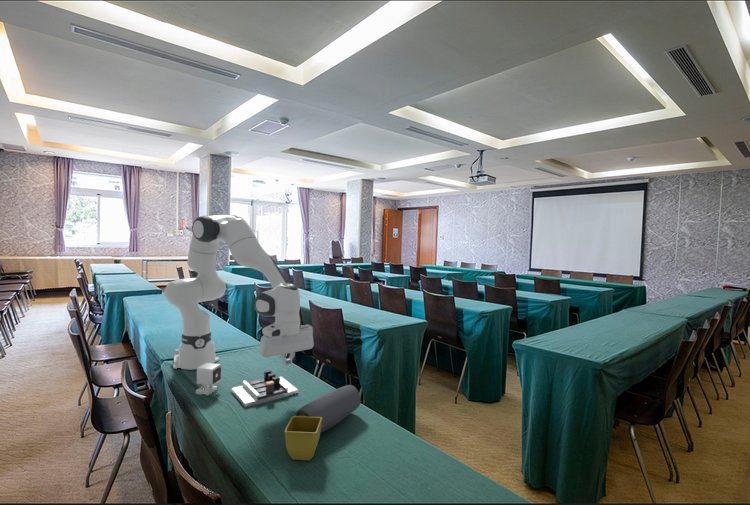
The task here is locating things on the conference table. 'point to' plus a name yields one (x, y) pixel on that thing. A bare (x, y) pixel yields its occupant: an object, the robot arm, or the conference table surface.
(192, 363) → the robot arm
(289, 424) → the flower pot
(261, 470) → the conference table surface
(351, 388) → the bluetooth speaker
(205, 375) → the security camera
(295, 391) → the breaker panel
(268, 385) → the handle
